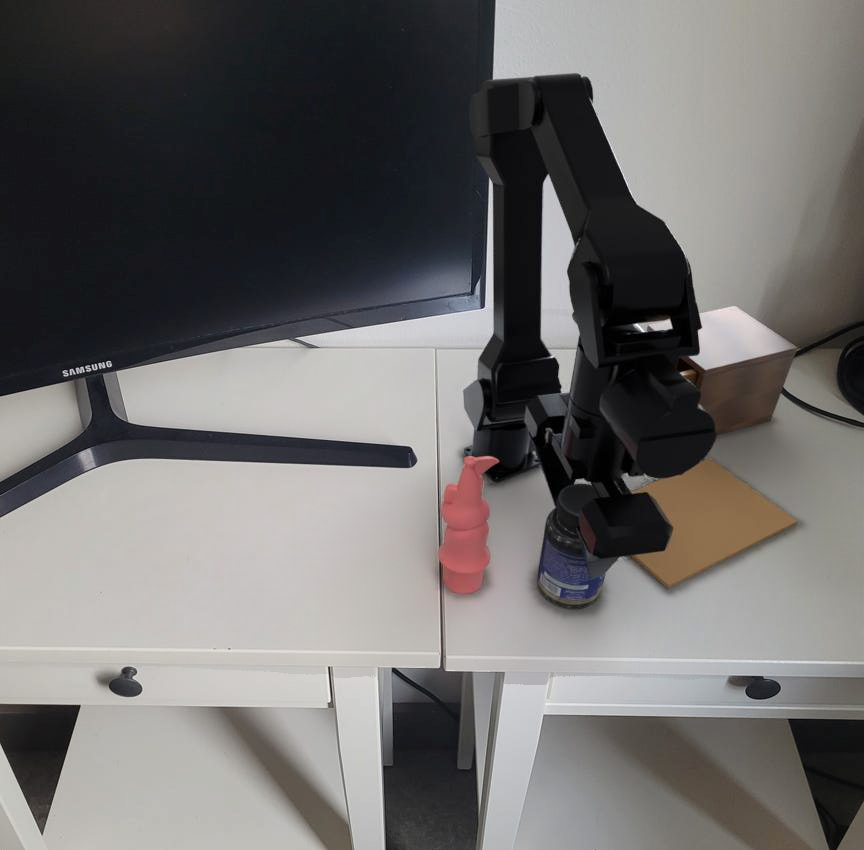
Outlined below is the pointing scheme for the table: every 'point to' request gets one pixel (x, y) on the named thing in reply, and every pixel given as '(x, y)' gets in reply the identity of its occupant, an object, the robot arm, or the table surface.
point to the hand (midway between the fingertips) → (577, 539)
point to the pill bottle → (567, 553)
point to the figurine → (466, 528)
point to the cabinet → (738, 367)
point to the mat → (708, 521)
